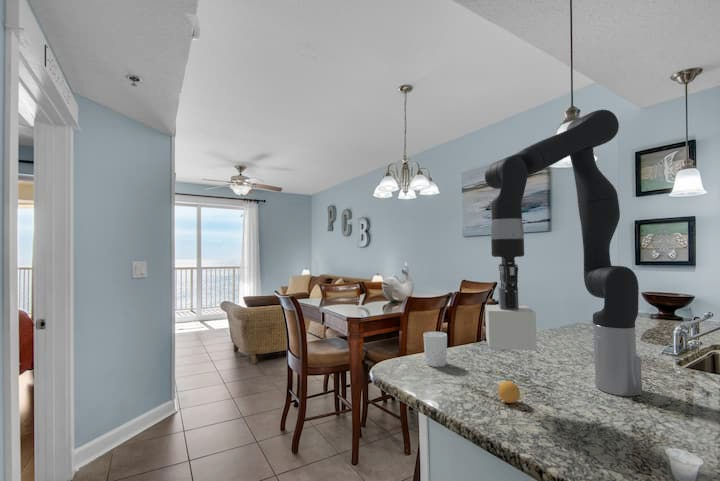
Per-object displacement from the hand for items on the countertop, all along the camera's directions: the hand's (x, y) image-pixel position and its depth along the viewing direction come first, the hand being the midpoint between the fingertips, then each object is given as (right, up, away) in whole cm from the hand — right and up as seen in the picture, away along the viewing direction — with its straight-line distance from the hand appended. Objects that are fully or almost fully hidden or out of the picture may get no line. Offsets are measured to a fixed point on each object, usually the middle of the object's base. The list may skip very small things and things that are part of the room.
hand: (509, 306), depth 85 cm
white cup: (-11, -26, +31) cm, 42 cm away
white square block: (0, -9, 0) cm, 9 cm away
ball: (0, -21, 0) cm, 21 cm away
